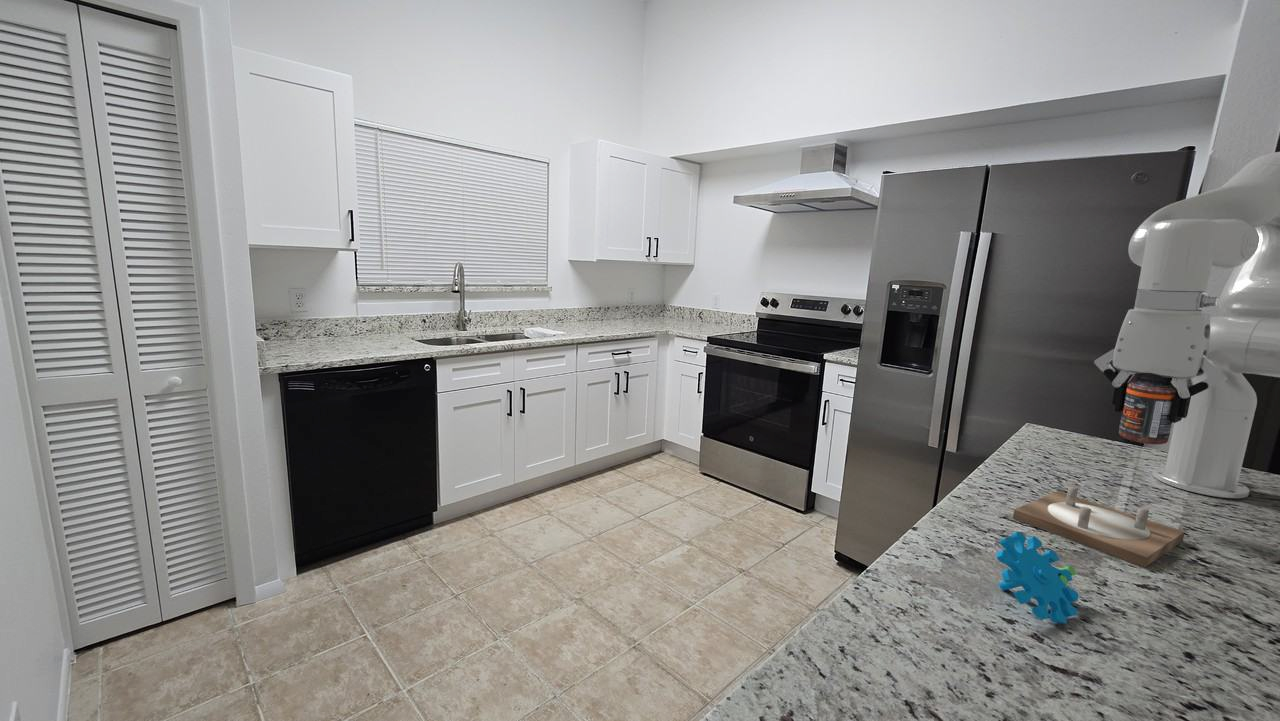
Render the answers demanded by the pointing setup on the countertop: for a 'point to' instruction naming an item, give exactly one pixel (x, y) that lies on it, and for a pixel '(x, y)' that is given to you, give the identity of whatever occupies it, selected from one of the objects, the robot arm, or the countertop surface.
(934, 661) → the countertop surface
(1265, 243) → the robot arm
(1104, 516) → the pin board
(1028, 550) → the gear
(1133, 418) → the supplement bottle
